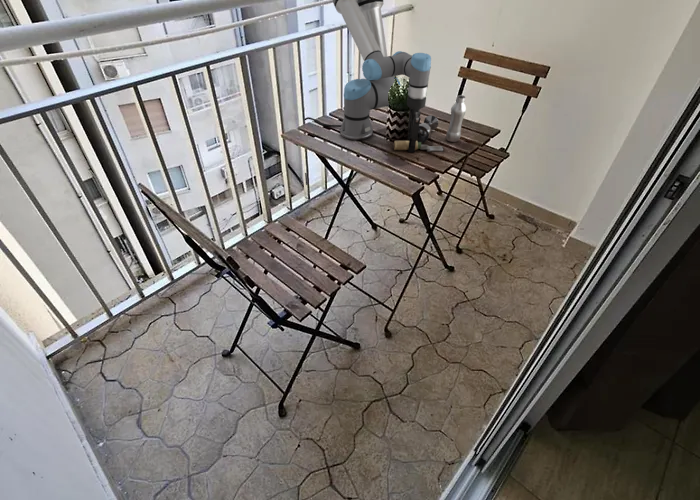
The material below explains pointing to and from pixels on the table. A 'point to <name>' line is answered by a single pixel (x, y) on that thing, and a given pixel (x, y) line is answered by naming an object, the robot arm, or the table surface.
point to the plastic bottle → (456, 119)
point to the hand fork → (405, 145)
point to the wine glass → (427, 128)
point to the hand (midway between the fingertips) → (410, 149)
